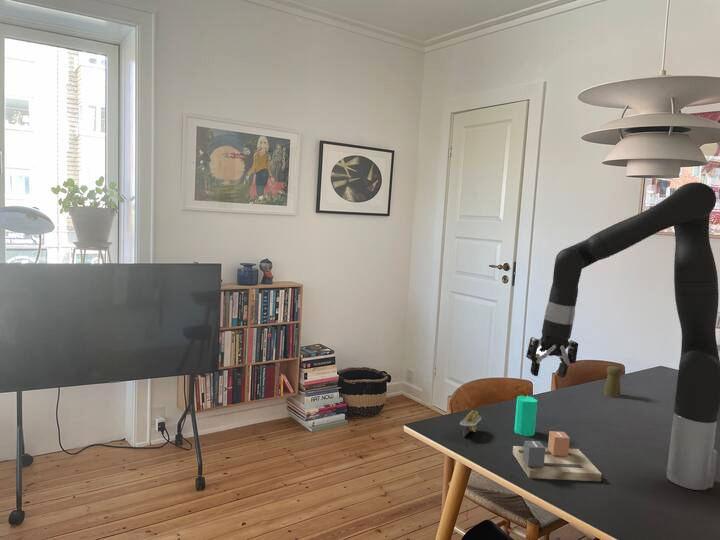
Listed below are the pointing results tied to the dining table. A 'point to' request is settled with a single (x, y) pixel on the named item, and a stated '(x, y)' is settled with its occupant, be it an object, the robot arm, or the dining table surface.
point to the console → (560, 466)
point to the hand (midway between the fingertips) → (547, 376)
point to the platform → (470, 422)
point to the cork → (613, 382)
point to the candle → (525, 415)
